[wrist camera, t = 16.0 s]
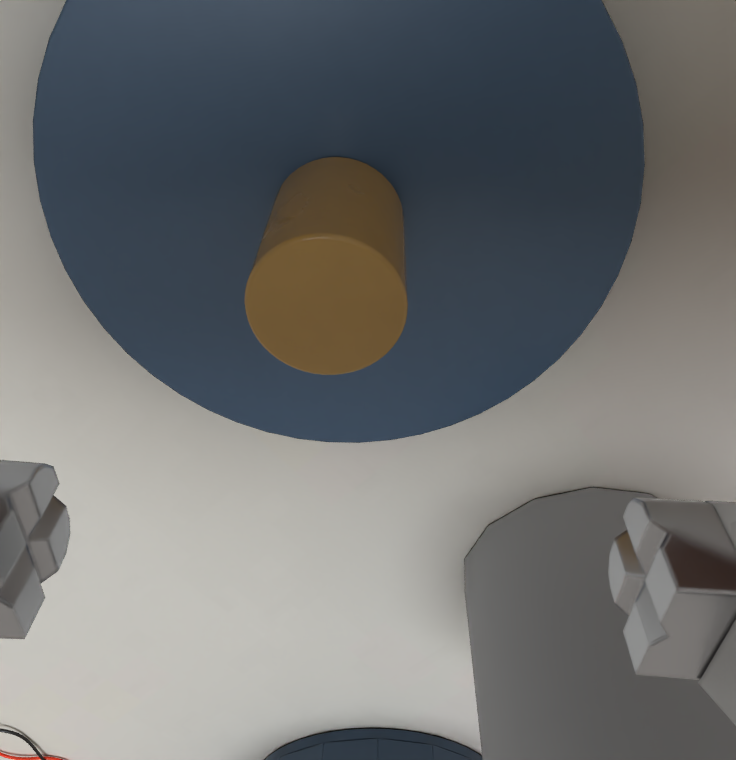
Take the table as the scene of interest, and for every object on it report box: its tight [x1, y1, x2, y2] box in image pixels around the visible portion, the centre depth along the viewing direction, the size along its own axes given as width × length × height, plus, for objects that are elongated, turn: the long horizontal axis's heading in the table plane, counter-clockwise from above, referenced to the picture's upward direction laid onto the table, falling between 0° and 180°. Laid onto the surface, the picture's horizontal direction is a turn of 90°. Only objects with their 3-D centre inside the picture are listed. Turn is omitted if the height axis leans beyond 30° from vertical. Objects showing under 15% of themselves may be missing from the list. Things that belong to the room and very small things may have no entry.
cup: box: [464, 488, 736, 760], centre depth 21 cm, size 8×8×10 cm
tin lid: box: [33, 0, 645, 443], centre depth 15 cm, size 14×14×5 cm
